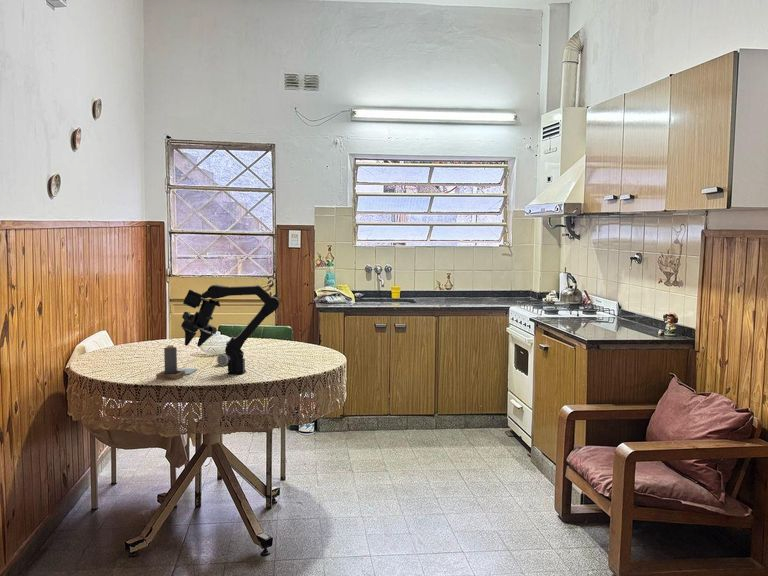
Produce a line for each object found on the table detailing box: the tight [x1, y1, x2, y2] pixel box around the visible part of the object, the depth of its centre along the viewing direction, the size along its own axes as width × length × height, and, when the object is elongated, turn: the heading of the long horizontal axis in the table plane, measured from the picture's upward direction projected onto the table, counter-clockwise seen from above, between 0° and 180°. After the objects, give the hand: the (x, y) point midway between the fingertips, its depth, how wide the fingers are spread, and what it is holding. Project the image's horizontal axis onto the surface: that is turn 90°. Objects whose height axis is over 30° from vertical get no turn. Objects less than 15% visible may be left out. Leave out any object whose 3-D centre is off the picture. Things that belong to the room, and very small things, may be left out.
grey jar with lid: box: [163, 344, 178, 374], centre depth 300 cm, size 5×5×14 cm
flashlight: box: [216, 352, 230, 367], centre depth 333 cm, size 15×5×5 cm, turn 163°
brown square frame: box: [155, 369, 186, 381], centre depth 300 cm, size 9×9×2 cm
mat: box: [177, 367, 198, 376], centre depth 310 cm, size 10×10×1 cm
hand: (192, 346), depth 305 cm, fingers open, 9 cm apart
